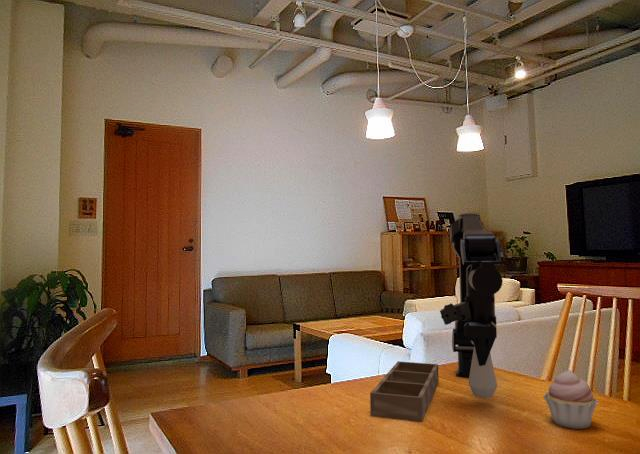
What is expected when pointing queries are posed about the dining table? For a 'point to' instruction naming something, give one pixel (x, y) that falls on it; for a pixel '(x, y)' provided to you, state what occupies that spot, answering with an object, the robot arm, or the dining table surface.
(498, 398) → the dining table surface
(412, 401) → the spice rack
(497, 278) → the robot arm
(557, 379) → the cupcake
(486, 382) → the salt shaker
